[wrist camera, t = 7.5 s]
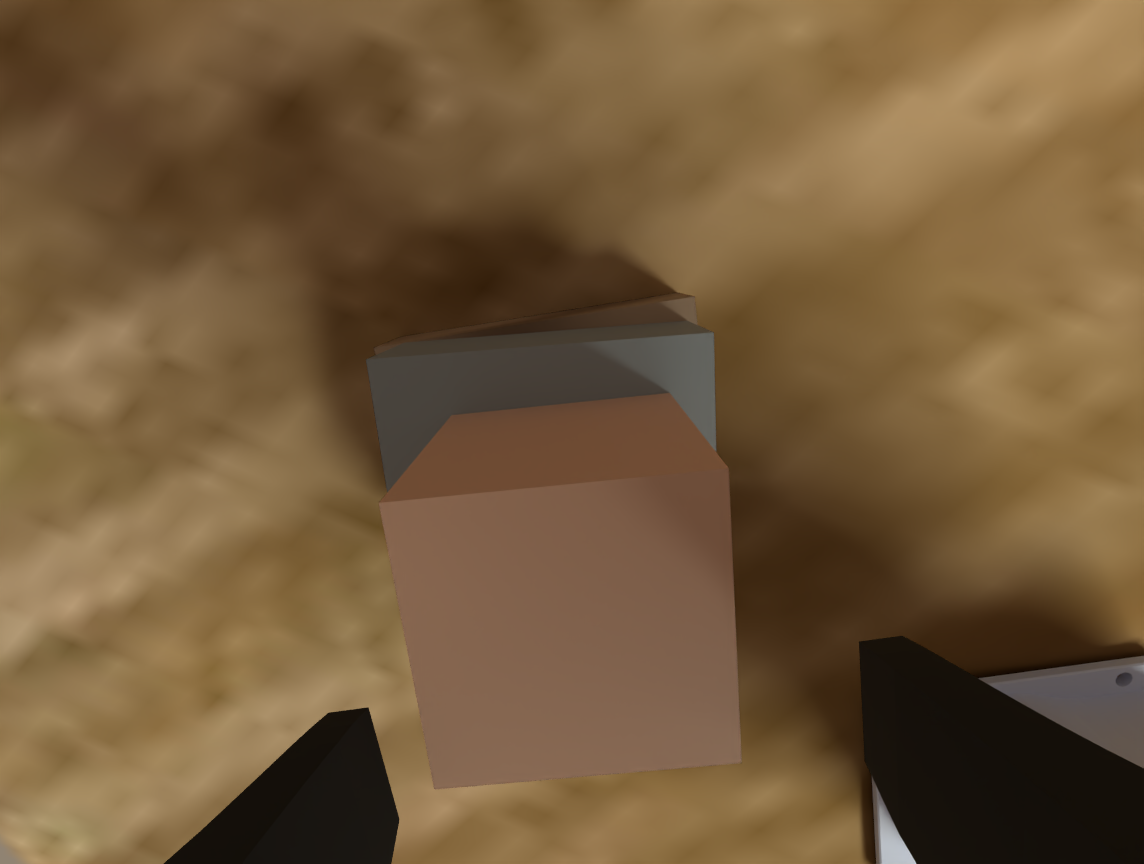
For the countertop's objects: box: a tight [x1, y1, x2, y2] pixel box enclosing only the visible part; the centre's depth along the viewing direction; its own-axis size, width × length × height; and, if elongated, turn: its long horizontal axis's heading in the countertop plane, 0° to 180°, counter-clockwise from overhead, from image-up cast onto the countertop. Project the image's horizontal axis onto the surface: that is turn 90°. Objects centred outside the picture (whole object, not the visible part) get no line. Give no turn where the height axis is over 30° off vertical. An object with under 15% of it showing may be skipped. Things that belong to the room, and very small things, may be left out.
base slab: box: [374, 293, 697, 355], centre depth 18 cm, size 8×8×3 cm
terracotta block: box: [379, 393, 742, 789], centre depth 11 cm, size 4×4×5 cm
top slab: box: [366, 321, 716, 492], centre depth 15 cm, size 7×7×3 cm
